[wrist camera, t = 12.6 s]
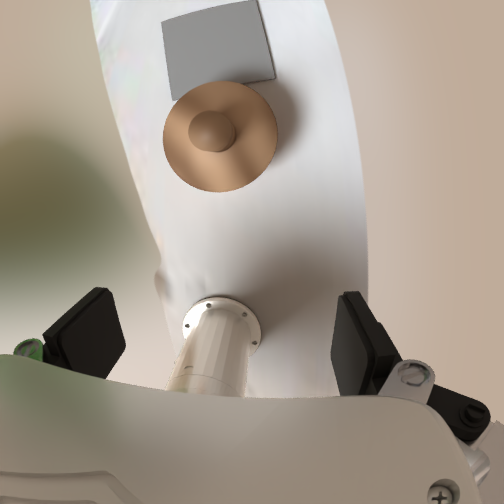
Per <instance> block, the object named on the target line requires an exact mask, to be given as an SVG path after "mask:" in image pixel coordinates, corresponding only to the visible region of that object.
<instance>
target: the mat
mask: <svg viewBox="0 0 504 504" xmlns="http://www.w3.org/2000/svg"><path fill="white" fill-rule="evenodd" d="M161 24H162V32H163V40H164V48H165V55H166V62H167V69H168V76H169V83H170V89H171V95H172V100H173V101H174V100H178V99H180V98H181V97H182V96H183V95H184V94H186V93H187V92H188V91H190V90H192V89H193V88H195V87H197V86H200V85H202V84H205V83H209V82H215V81H230V82H236V83H240V84H246V83H251V82H257V81H263V80H270V79H275V75H274V70H273V66H272V62H271V57H270V53H269V49H268V45H267V41H266V37H265V33H264V29H263V25H262V21H261V17H260V14H259V10H258V6H257V3H256V0H248V1H242V2H236V3H231V4H226V5H221V6H216V7H212V8H208V9H204V10H200V11H196V12H192V13H189V14H185V15H182V16H178V17H175V18H172V19H169V20H166V21H163V22H161Z"/></svg>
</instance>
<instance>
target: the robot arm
mask: <svg viewBox="0 0 504 504" xmlns="http://www.w3.org/2000/svg"><path fill="white" fill-rule="evenodd" d="M209 303H210V304H209ZM244 312H246V313H244ZM182 329H183V335H184V338H185V343H184V345H183V347H182V350H181V352H180V354H179V357H178V358H177V359H176V360H175V362H174V364H175V366H174V368H173V371H172V373H171V376H170V378H169V380H168V383H167V385H166V387H165V390H160V389H153V388H147V387H141V386H136V385H130V384H125V383H120V382H115V381H111V380H106V378H107V376H108V374H109V373H110V371H111V370H112V368H113V367H114V365H115V364H116V362H117V361H118V359H119V358H120V356H121V355H122V353H123V352H124V350H125V347H126V343H125V339H124V336H123V333H122V329H121V325H120V322H119V318H118V314H117V310H116V306H115V302H114V298H113V294H112V293H111V292H110V291H109V290H108V289H107V288H101V287H95V288H94V289H92V290H91V291H90V292H89V293H88V294H87V295H85V296H84V297H83V298H82V299H81V300H80V301H79V302H78V303H76V304H75V305H74V306H73V307H72V308H71V309H69V310H68V311H67V312H66V313H65V314H64V315H63V316H62V317H61V318H60V319H58V320H57V321H56V322H55V323H54V324H53V325H52V326H51V327H50V328H49V329H48V330H46V331H45V332H44V333H43V337H44V340H45V342H46V343H45V344H44V345H43V343H42V342H41V341H40V340H39V339H35V338H32V339H27V340H25V341H23V342H21V343H20V344H18V345H17V346H16V348H15V349H14V352H13V355H10V354H9V355H8V354H2V355H0V504H504V425H503V424H501V423H500V422H498V421H496V422H495V423H493V422H491V421H490V418H491V416H490V412H489V410H488V408H487V407H486V406H485V405H484V404H483V403H481V402H480V401H478V400H475V399H472V398H469V397H467V396H464V395H461V394H458V393H456V392H454V391H451V390H448V389H446V388H443V387H440V386H438V385H435V384H434V381H435V374H434V371H433V370H432V368H431V367H430V366H428V365H427V364H426V363H423V362H421V361H418V360H404V361H403V360H402V358H401V356H400V355H399V353H398V351H397V349H396V347H395V346H394V344H393V342H392V341H391V339H390V337H389V336H388V334H387V332H386V330H385V329H384V327H383V325H382V324H381V323H379V322H377V320H376V319H375V317H374V315H373V314H372V312H371V310H370V309H369V307H368V305H367V304H366V302H365V300H364V299H363V297H362V296H361V294H360V292H359V291H352V292H344V294H343V295H341V296H339V298H338V306H337V313H336V320H335V327H334V334H333V341H332V347H331V361H332V365H333V369H334V372H335V376H336V380H337V384H338V388H339V392H340V396H332V397H305V398H246V397H245V388H246V379H247V369H248V360H249V357H250V356H251V355H252V354H253V353H254V352H255V351H256V349H257V348H258V346H259V343H260V339H261V328H260V324H259V322H258V320H257V318H256V316H255V315H254V313H253V312H252V311H251V310H250V309H249V308H247V307H246V306H245V305H243V304H241V303H240V302H237V301H235V300H232V299H228V298H221V297H214V298H207V299H204V300H201V301H199V302H197V303H196V304H194V305H193V306H192V307H191V308H190V309H189V311H188V312H187V314H186V316H185V318H184V321H183V327H182Z"/></svg>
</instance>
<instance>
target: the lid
mask: <svg viewBox="0 0 504 504" xmlns="http://www.w3.org/2000/svg"><path fill="white" fill-rule="evenodd" d="M277 136H278V132H277V124H276V120H275V117H274V114H273V112H272V110H271V108H270V106H269V105H268V103H267V102H266V101H265V100H264V98H263V97H261V96H260V95H259V94H258V93H257V92H256V91H254V90H253V89H251V88H249V87H247V86H245V85H242V84H240V83H236V82H230V81H215V82H209V83H205V84H202V85H200V86H197V87H195V88H193V89H192V90H190V91H188V92H187V93H186V94H184V95H183V96H182V97H181V98H180V99H179V100H178V101H177V102H176V104H175V105H174V106H173V108H172V109H171V111H170V113H169V115H168V117H167V119H166V122H165V126H164V131H163V146H164V151H165V155H166V158H167V160H168V162H169V164H170V166H171V168H172V169H173V170H174V172H175V173H176V174H177V175H178V176H179V177H180V178H181V179H182V180H183V181H185V182H186V183H188V184H189V185H191V186H193V187H195V188H197V189H200V190H204V191H209V192H228V191H232V190H236V189H239V188H241V187H244V186H246V185H247V184H249V183H251V182H252V181H254V180H255V179H256V178H257V177H258V176H260V175H261V174H262V173H263V171H264V170H265V169H266V168H267V166H268V165H269V163H270V162H271V159H272V157H273V155H274V152H275V149H276V145H277Z"/></svg>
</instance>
